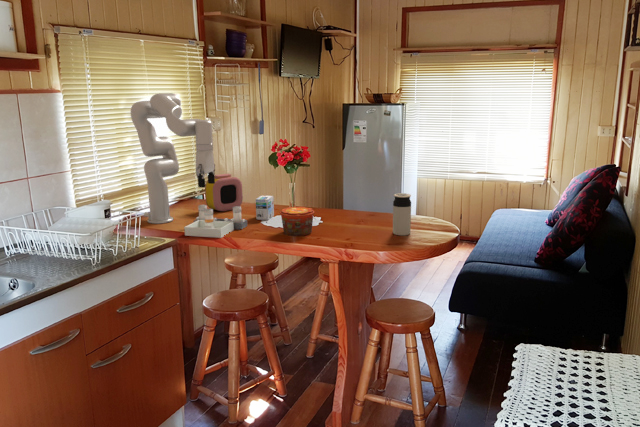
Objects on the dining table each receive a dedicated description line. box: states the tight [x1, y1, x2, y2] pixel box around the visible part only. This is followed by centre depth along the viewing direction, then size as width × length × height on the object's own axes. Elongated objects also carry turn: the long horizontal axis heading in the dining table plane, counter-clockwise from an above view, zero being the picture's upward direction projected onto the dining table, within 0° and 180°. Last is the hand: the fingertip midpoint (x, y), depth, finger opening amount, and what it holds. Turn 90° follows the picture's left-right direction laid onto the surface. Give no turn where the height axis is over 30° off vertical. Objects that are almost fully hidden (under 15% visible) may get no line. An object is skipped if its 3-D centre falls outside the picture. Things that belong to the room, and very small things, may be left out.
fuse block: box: [193, 216, 248, 230], centre depth 263 cm, size 25×7×4 cm, turn 76°
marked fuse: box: [204, 208, 214, 228], centre depth 251 cm, size 4×4×10 cm
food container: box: [279, 206, 315, 237], centre depth 250 cm, size 16×16×11 cm
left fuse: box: [197, 204, 208, 220], centre depth 265 cm, size 4×4×10 cm
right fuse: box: [232, 206, 243, 223], centre depth 260 cm, size 4×4×10 cm
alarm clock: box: [204, 173, 244, 213], centre depth 299 cm, size 18×11×19 cm, turn 132°
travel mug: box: [392, 192, 412, 236], centre depth 245 cm, size 8×8×18 cm
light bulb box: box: [255, 195, 275, 221], centre depth 279 cm, size 11×7×11 cm, turn 168°
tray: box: [183, 220, 235, 239], centre depth 252 cm, size 18×14×4 cm
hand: (206, 185), depth 248 cm, fingers open, 9 cm apart
